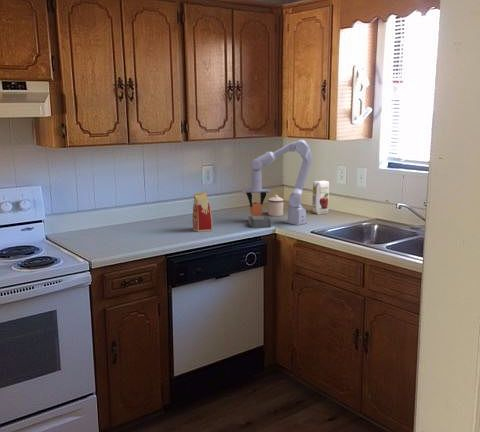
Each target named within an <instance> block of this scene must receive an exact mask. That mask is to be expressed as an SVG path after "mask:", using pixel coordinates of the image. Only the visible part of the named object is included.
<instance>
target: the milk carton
mask: <svg viewBox="0 0 480 432" xmlns="http://www.w3.org/2000/svg"><path fill="white" fill-rule="evenodd" d="M192 195H193V197H194V199H193V204H192V205H193V207H192V229H193V231H195V232H212V231H213V217H212V210H211V206H210V201H209V197H208V194H207V190H206V189H205V190H203V191H201V192H198V193H193V194H192Z"/></svg>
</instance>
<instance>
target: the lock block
mask: <svg viewBox="0 0 480 432" xmlns="http://www.w3.org/2000/svg"><path fill="white" fill-rule="evenodd" d="M249 207H250V206H249ZM249 210H250V211H249V214H250V215H251V217H252V216H253V217H255V216H257V217H258V216H259V217H260V216H261V217H262V216H263V205H262V204H261V203H260V202H252V207H250V208H249Z"/></svg>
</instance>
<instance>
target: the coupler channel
mask: <svg viewBox="0 0 480 432" xmlns="http://www.w3.org/2000/svg"><path fill="white" fill-rule="evenodd" d="M247 219H248V220H247V221H248V223H247V224H248V225H249V226H250V228H252V229H254V228H255V229H256V228H257V229H259V228H263V229H264V228H271V218H269V216H268V215H264V217H263V219H254V218H253V217H252V215H251V216H248V218H247Z"/></svg>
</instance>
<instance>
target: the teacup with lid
mask: <svg viewBox="0 0 480 432" xmlns="http://www.w3.org/2000/svg"><path fill="white" fill-rule="evenodd" d="M267 201H268V211H267V212H268V213H267V214H268V216H270V217H282V216H283V215H284V205H285V204H284V201H285V200H284V198H282V197H280V196H279V195H278V194H274V196H272V197H270V198H268V200H267Z"/></svg>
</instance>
